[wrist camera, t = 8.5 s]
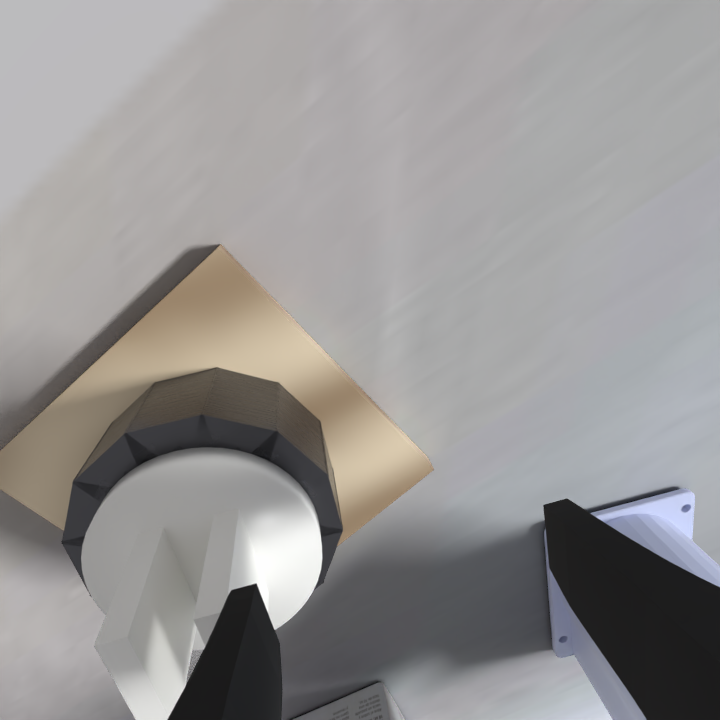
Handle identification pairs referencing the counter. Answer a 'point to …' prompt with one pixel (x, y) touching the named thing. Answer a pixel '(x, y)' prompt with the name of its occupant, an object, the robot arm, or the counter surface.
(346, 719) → the coffee box
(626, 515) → the robot arm
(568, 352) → the counter surface
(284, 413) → the ring
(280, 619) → the white round knobbed piece
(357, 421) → the square wooden board
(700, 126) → the counter surface
